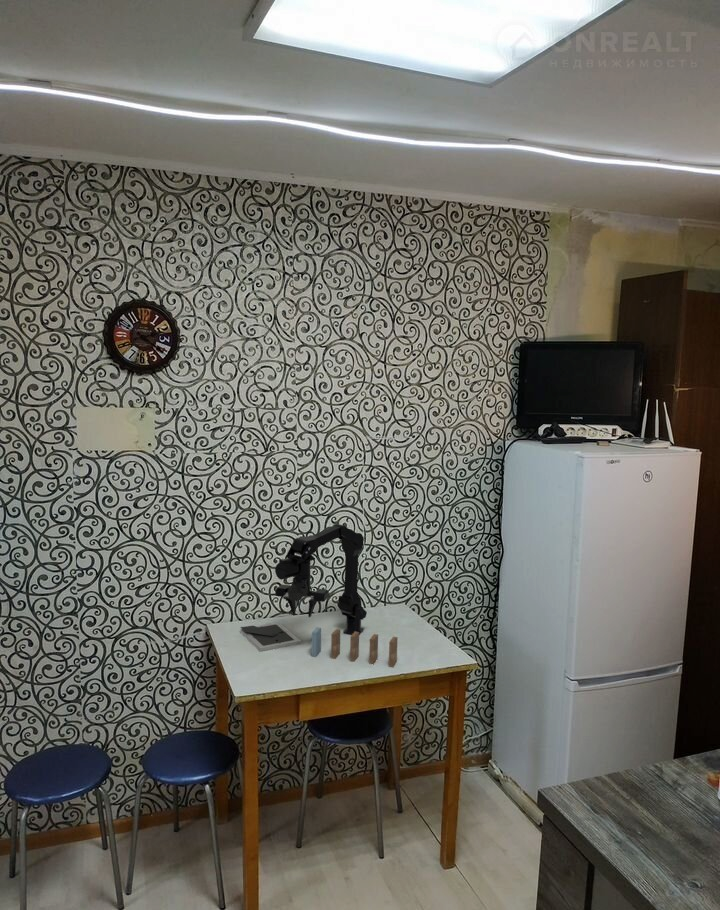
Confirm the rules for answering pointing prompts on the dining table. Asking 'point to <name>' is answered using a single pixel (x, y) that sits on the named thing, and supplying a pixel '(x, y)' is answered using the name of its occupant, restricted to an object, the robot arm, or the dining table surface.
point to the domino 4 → (373, 649)
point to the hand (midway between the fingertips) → (301, 616)
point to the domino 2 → (335, 644)
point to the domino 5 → (393, 651)
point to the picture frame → (269, 636)
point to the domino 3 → (354, 646)
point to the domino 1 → (316, 642)
